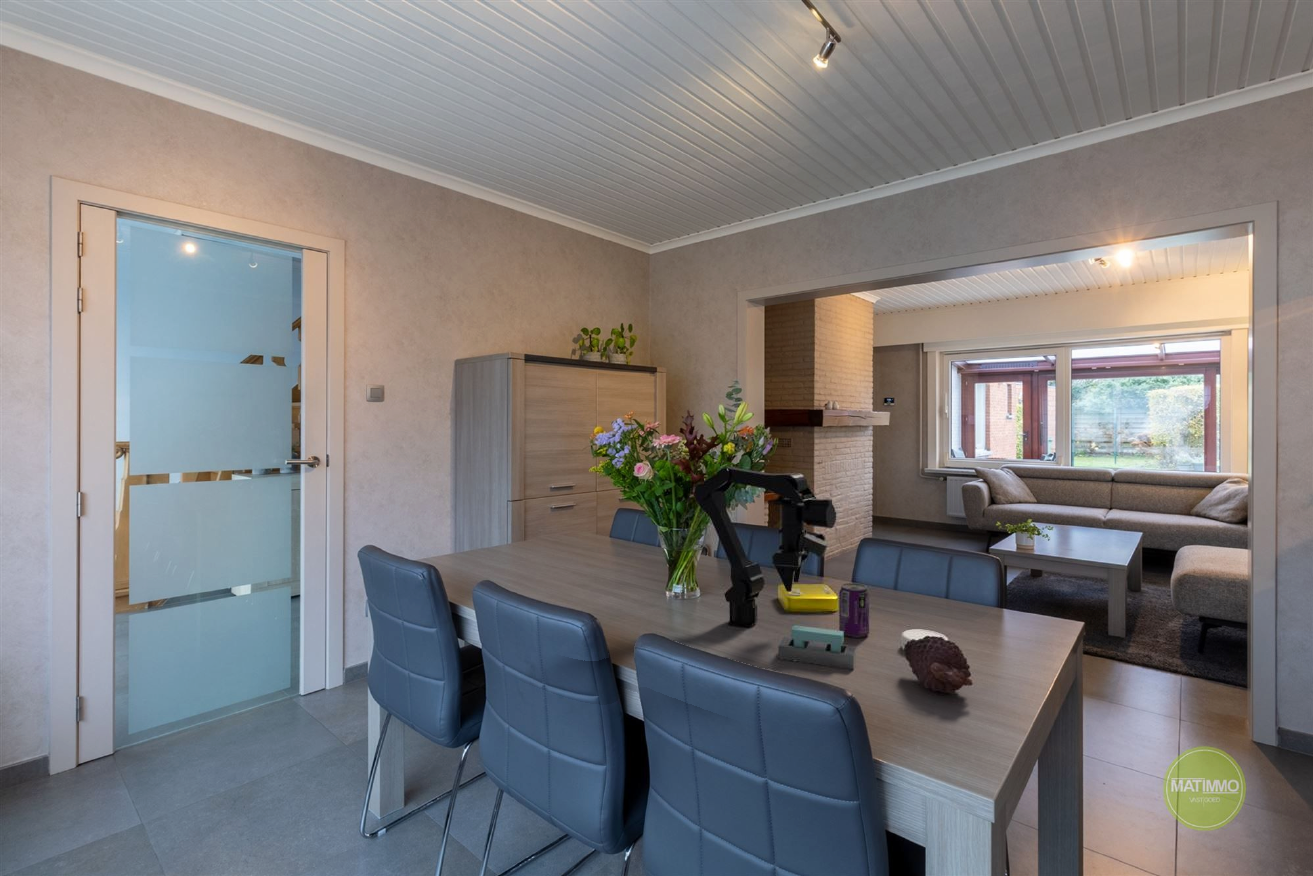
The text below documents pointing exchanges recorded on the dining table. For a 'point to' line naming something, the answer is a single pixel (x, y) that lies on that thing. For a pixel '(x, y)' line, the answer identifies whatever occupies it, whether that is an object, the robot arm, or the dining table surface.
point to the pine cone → (938, 664)
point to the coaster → (918, 635)
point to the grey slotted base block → (818, 653)
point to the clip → (817, 636)
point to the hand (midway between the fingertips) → (792, 586)
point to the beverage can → (854, 609)
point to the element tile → (808, 598)
